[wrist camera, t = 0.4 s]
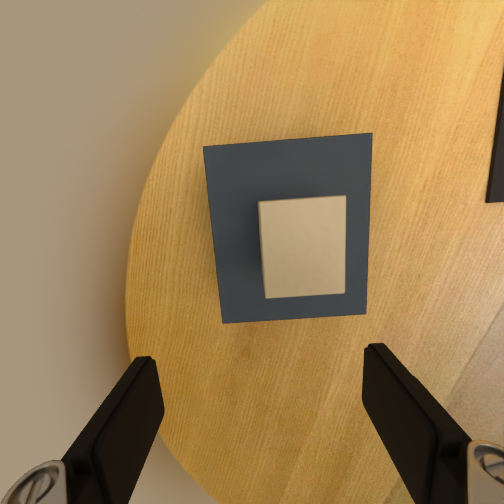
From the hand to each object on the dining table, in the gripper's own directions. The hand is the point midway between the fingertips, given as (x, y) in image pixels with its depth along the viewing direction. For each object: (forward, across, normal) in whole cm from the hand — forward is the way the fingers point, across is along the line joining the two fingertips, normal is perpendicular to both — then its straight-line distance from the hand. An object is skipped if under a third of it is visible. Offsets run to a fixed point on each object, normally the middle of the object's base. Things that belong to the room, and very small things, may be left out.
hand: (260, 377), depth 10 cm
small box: (+10, -3, -4) cm, 11 cm away
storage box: (+17, -3, -4) cm, 18 cm away
